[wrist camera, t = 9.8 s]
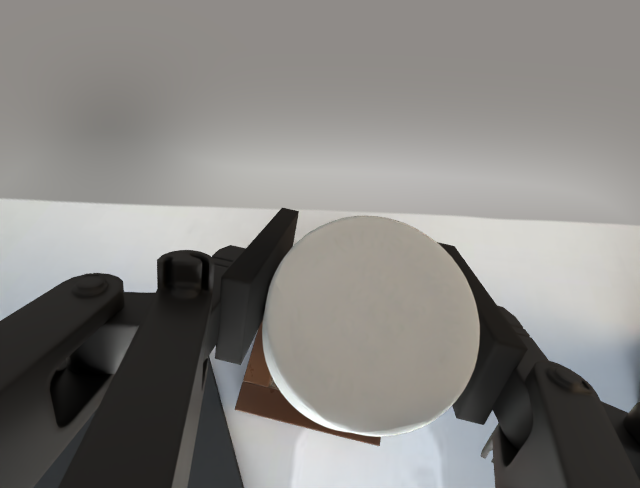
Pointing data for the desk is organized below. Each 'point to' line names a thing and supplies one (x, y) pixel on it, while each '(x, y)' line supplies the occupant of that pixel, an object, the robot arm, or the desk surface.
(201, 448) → the desk mat
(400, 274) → the pill bottle
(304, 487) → the desk surface
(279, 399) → the holder
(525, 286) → the desk surface
